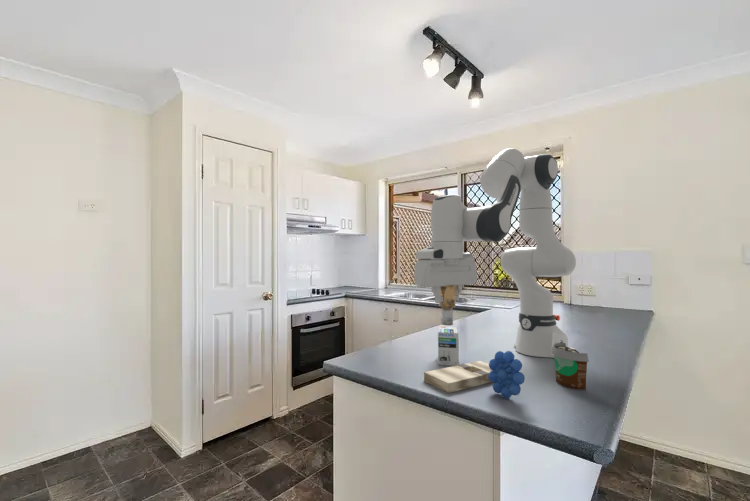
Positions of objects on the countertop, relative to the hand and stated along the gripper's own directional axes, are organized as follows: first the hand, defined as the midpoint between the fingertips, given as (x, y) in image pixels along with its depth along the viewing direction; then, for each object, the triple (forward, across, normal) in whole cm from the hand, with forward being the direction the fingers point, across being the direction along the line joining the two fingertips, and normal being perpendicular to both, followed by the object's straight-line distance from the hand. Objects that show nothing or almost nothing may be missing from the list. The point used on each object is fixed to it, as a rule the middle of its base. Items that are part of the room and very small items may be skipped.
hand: (447, 302), depth 97 cm
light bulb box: (+23, -15, -16) cm, 32 cm away
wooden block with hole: (+23, -7, 0) cm, 24 cm away
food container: (+23, -29, +16) cm, 40 cm away
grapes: (+23, -7, +15) cm, 28 cm away
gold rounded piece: (+6, 0, 0) cm, 6 cm away
